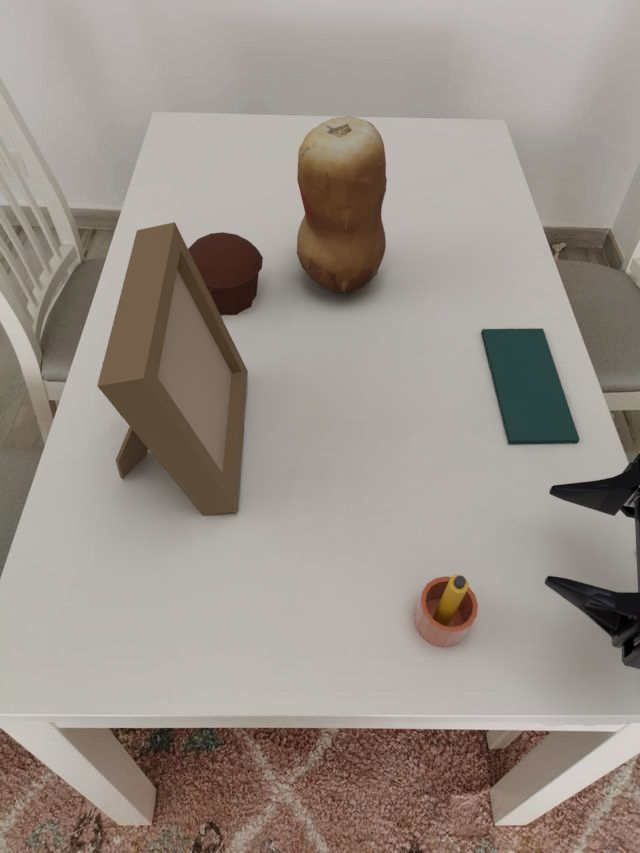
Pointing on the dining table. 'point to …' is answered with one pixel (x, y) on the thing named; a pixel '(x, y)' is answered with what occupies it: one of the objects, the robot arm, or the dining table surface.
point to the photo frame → (176, 374)
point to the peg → (451, 599)
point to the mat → (528, 387)
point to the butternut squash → (342, 203)
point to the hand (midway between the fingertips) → (548, 532)
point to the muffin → (228, 270)
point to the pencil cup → (458, 623)
